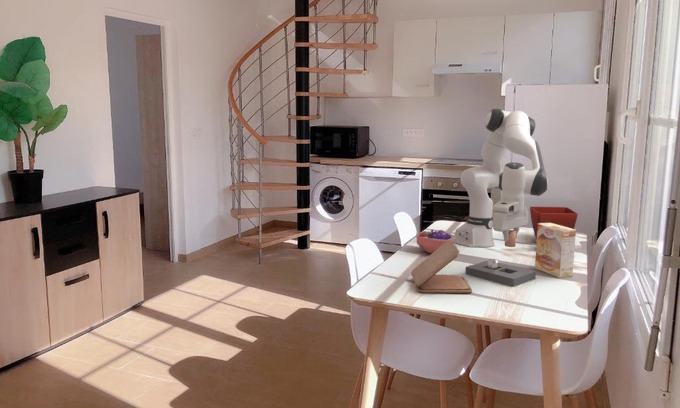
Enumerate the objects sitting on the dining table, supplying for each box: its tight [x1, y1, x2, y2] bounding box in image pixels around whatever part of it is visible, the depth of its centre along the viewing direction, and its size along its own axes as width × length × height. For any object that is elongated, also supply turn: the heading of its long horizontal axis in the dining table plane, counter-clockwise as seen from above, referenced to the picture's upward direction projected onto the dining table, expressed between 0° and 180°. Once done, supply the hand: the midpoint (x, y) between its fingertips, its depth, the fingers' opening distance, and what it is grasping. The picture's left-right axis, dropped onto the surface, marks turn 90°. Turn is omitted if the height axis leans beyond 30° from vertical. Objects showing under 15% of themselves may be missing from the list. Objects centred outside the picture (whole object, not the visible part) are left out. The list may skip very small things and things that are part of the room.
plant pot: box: [529, 206, 578, 240], centre depth 282 cm, size 19×19×17 cm
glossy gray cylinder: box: [487, 258, 499, 270], centre depth 225 cm, size 4×4×6 cm
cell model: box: [415, 229, 456, 254], centre depth 260 cm, size 17×20×11 cm
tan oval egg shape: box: [504, 229, 517, 248], centre depth 218 cm, size 4×4×6 cm
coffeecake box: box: [534, 223, 577, 279], centre depth 228 cm, size 15×7×20 cm, turn 20°
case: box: [410, 241, 473, 294], centre depth 210 cm, size 20×21×16 cm
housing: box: [465, 259, 537, 287], centre depth 223 cm, size 22×16×3 cm
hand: (510, 239), depth 218 cm, fingers closed on tan oval egg shape, 4 cm apart
